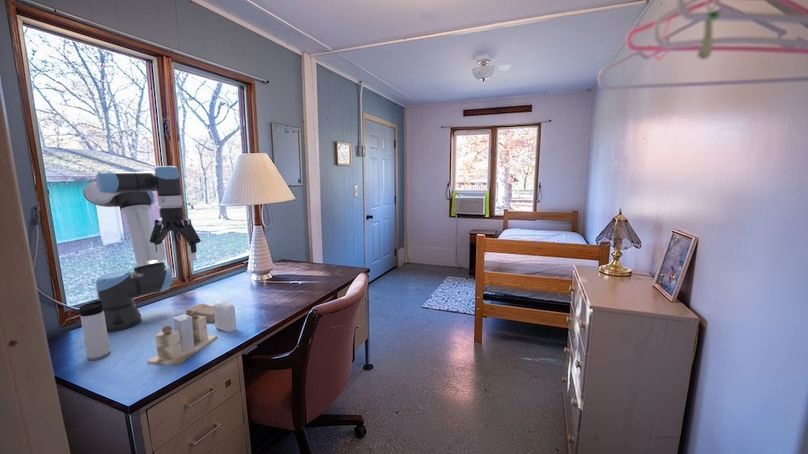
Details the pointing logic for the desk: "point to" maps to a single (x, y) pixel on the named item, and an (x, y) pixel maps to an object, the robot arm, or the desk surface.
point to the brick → (203, 311)
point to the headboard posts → (171, 342)
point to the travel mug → (94, 330)
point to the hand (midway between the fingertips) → (177, 260)
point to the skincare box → (184, 331)
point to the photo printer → (224, 316)
